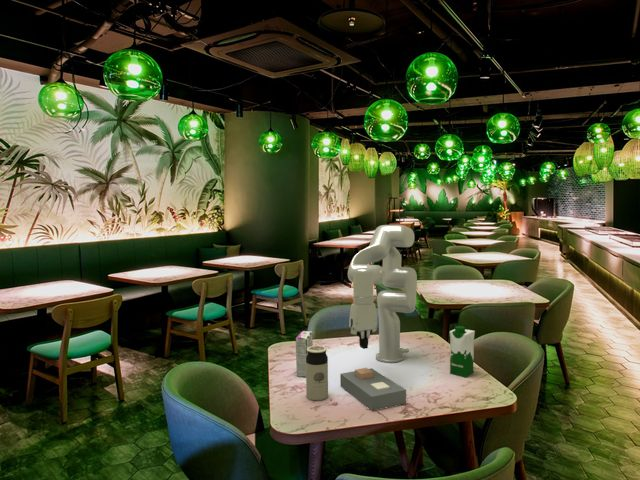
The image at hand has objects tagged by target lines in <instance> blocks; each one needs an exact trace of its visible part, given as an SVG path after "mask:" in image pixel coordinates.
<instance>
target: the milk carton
mask: <svg viewBox="0 0 640 480" xmlns="http://www.w3.org/2000/svg"><path fill="white" fill-rule="evenodd" d="M475 334H476V331H475V330H472V329H466V327H465V326H463V325H456V326H454V329H452V330H450V331H449V338H450V341H449V345H450V347H449V351H450V352H449V359H450V360H449V374H451V375H455V376H458V377H462V378H468V377H469V376H471V375H472V373H473V374H474V361H475V360H474V358H475V357H474V351H475V349H474V346H475V345H474V344H475V343H474V342H475Z"/></svg>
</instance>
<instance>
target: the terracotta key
mask: <svg viewBox="0 0 640 480" xmlns="http://www.w3.org/2000/svg"><path fill="white" fill-rule="evenodd" d="M369 369H370V368H368V367H363V368H357V369H354V371H355V376H356V377H358V378H359V379H361V380H362V379H367V378H373V372H372V371H371V370H369Z"/></svg>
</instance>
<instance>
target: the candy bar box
mask: <svg viewBox="0 0 640 480" xmlns="http://www.w3.org/2000/svg"><path fill="white" fill-rule="evenodd" d="M310 346H314V344H313V331H312V330H311V331H309V330H307V331H306V330H302V331H301V332H300V333H299V334H298V335H297V336H296V338H295V358H296V359H295V360H296V365H295V366H296V377H297V378H298V377H299V378H301V377H302V378H306V356H307V354H308V352H307V348H308V347H310Z"/></svg>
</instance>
